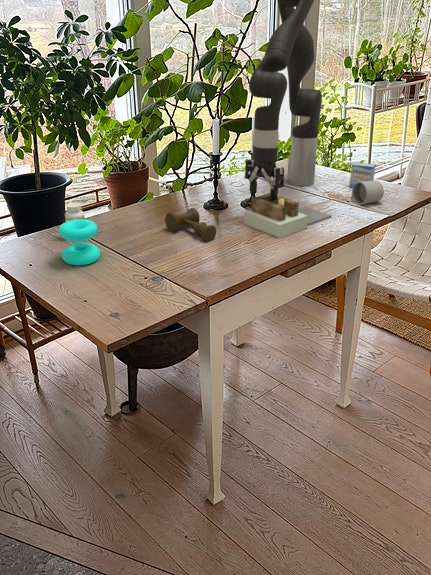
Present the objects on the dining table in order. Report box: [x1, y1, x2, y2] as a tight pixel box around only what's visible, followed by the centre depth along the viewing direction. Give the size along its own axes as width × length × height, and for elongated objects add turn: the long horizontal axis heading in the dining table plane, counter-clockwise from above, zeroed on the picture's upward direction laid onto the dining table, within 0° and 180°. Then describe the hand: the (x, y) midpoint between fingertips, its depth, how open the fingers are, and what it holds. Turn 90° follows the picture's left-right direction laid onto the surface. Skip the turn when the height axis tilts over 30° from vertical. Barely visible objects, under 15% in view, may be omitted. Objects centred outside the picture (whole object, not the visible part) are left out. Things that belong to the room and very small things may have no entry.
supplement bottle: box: [64, 202, 85, 222], centre depth 169 cm, size 5×5×10 cm
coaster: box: [298, 206, 332, 226], centre depth 186 cm, size 11×11×1 cm
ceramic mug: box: [351, 180, 385, 206], centre depth 198 cm, size 11×8×8 cm
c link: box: [250, 192, 300, 222], centre depth 177 cm, size 12×8×4 cm, turn 41°
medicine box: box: [348, 161, 376, 189], centre depth 211 cm, size 8×4×9 cm, turn 68°
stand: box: [243, 198, 308, 239], centre depth 177 cm, size 15×12×9 cm
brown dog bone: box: [164, 207, 217, 243], centre depth 174 cm, size 6×10×20 cm
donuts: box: [58, 219, 101, 266], centre depth 155 cm, size 10×10×10 cm
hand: (263, 197), depth 179 cm, fingers open, 8 cm apart
